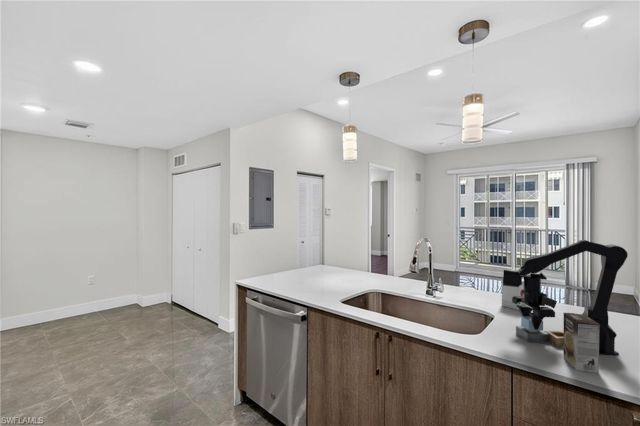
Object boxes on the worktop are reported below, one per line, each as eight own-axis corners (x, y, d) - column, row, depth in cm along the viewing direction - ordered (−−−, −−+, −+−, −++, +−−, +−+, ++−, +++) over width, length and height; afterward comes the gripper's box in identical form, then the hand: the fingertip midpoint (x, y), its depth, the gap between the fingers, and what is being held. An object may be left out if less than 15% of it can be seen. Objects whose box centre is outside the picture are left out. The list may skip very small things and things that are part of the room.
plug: (543, 339, 121) (543, 320, 121) (528, 339, 121) (528, 320, 121) (535, 334, 126) (535, 316, 125) (521, 333, 126) (521, 316, 126)
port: (548, 342, 119) (548, 334, 119) (527, 342, 120) (527, 333, 120) (535, 334, 127) (535, 326, 127) (516, 333, 128) (516, 325, 128)
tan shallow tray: (575, 347, 115) (575, 338, 115) (556, 346, 116) (556, 338, 115) (562, 339, 122) (562, 331, 122) (544, 338, 123) (544, 330, 122)
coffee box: (562, 357, 107) (562, 312, 107) (584, 359, 106) (584, 313, 105) (575, 370, 99) (576, 321, 98) (599, 373, 97) (600, 323, 97)
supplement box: (519, 310, 156) (519, 281, 156) (501, 306, 163) (501, 278, 163) (527, 307, 161) (527, 279, 161) (509, 303, 168) (509, 276, 168)
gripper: (570, 295, 113) (570, 337, 113) (538, 283, 132) (537, 318, 132) (539, 295, 114) (539, 336, 114) (511, 283, 133) (511, 318, 133)
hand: (532, 326), depth 123 cm, fingers closed on plug, 5 cm apart
